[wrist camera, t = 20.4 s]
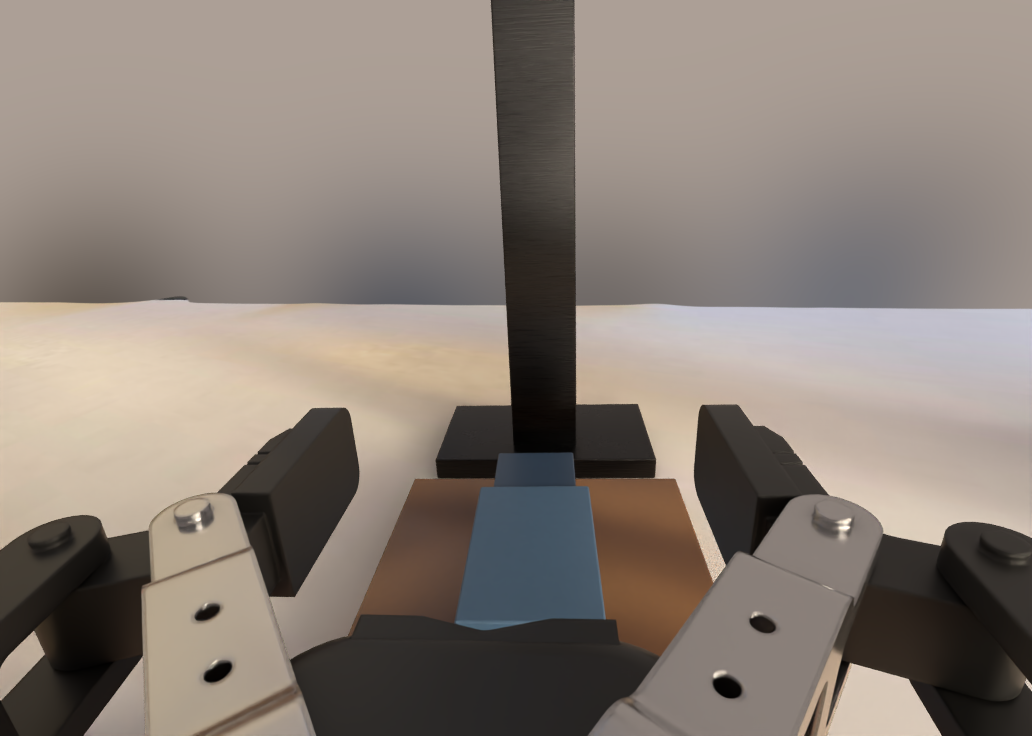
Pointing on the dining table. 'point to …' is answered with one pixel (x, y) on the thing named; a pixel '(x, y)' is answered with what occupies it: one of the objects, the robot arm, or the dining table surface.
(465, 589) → the stepped blue block
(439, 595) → the board
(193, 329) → the dining table surface
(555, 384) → the stand
